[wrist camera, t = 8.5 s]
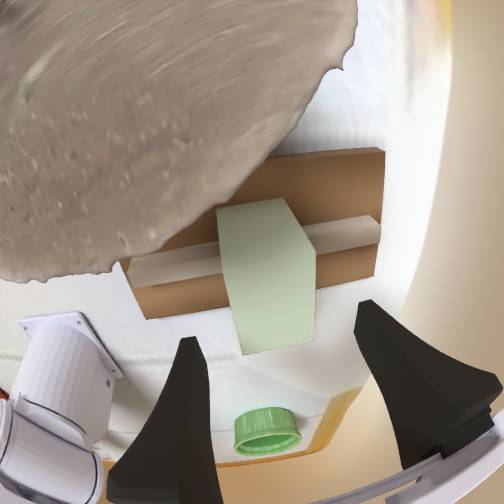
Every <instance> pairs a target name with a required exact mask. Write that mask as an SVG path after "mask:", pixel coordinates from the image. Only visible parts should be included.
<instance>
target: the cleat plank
mask: <svg viewBox="0 0 504 504" xmlns="http://www.w3.org/2000/svg"><path fill="white" fill-rule="evenodd" d="M384 174H385V151H383V150H381V149H379V148H377V147H369V148H354V149H341V150H330V151H319V152H310V153H301V154H293V155H285V156H277V157H270V158H266V159H265V161H264V162H263V163H262V164H261V165H260V166H258V167H257V168H256V169H255V170H254V172H253V173H252V174H251V175H250V176H249V177H248V178H247V179H246V180H245V181H244V183H243V184H242V185H241V186H240V187H239V188H238V190H237V191H236V192H235V193H234V195H233V196H232V197H231V198H230V199H229V200H228V201H227V202H226V203H223V204H221V203H220V204H216V205H214V206H213V207H212V208H210V209H209V210H208V211H207V212H205V213H204V214H203V215H202V216H200V217H199V218H198V219H197V220H196V221H195V222H194V223H193V224H191V225H190V226H188V227H187V228H185V229H183V230H181V231H180V232H179V233H177V234H176V235H174V236H173V237H171V238H170V239H169V240H168V241H167V242H166V243H165V245H164V246H163V247H162V248H161V249H160V250H157V251H154V252H152V253H150V254H147V255H145V256H141V257H128V258H126V259H124V260H119V262H120V265H121V267H122V269H123V272H124V274H125V276H126V279H127V281H128V283H129V285H130V287H131V290H132V292H133V294H134V296H135V298H136V300H137V302H138V304H139V307H140V309H141V311H142V313H143V315H144V317H145V319H146V320H148V319H155V318H162V317H169V316H175V315H181V314H188V313H194V312H200V311H206V310H212V309H218V308H224V307H229V306H230V302H229V298H228V293H227V289H226V285H225V281H224V276H223V272H222V265H221V256H220V246H219V235H218V224H217V213H216V209H218V208H223V207H229V206H234V205H240V204H245V203H251V202H257V201H263V200H269V199H275V198H282V197H283V198H284V200H285V201H286V203H287V205H288V206H289V208H290V210H291V211H292V213H293V214H294V216H295V218H296V219H297V221H298V223H299V224H300V226H301V228H302V229H303V231H304V233H305V234H306V236H307V238H308V239H309V241H310V243H311V245H312V246H313V248H314V250H315V251H316V280H315V289H320V288H325V287H329V286H334V285H338V284H342V283H347V282H351V281H355V280H360V279H364V278H368V277H372V276H374V270H375V263H376V256H377V249H378V243H380V235H381V226H380V224H381V214H382V203H383V190H384Z"/></svg>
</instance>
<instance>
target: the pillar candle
mask: <svg viewBox="0 0 504 504" xmlns="http://www.w3.org/2000/svg"><path fill="white" fill-rule="evenodd" d="M357 13H358V7H357V0H0V278H2V279H4V280H5V281H13V282H17V283H28V282H29V281H30V280H32V279H33V280H37V281H38V282H41V283H46V282H47V281H48V279H50V278H53V277H63V276H67V275H74V274H86V273H90V274H96V275H98V274H101V273H110V272H111V271H112V267H113V265H114V264H115V263H116V262H117V261H119V260H124V259H126V258H128V257H141V256H145V255H147V254H150V253H152V252H154V251H157V250H160V249H161V248H162V247H163V246H164V245H165V243H166V242H167V241H168V240H169V239H170V238H171V237H173V236H174V235H176V234H177V233H179V232H180V231H181V230H183V229H185V228H187V227H188V226H190V225H191V224H193V223H194V222H195V221H196V220H197V219H198V218H199V217H200V216H202V215H203V214H204V213H205V212H207V211H208V210H209V209H210V208H212V207H213V206H214V205H216V204H220V203H221V204H223V203H226V202H227V201H228V200H229V199H230V198H231V197H232V196H233V195H234V193H235V192H236V191H237V190H238V188H239V187H240V186H241V185H242V184H243V183H244V181H245V180H246V179H247V178H248V177H249V176H250V175H251V174H252V173H253V172H254V170H255V169H256V168H257V167H258V166H260V165H261V164H262V163H263V162H264V161H265V159H266V157H267V156H268V155H269V154H270V152H271V151H272V150H273V149H274V148H276V147H277V145H278V144H279V143H280V142H281V141H282V140H284V139H285V138H286V137H287V135H288V134H289V133H290V132H291V131H292V130H293V129H294V128H295V127H296V126H297V123H298V121H299V119H300V118H301V116H302V115H303V113H304V111H305V109H306V107H307V105H308V104H309V103H310V101H311V100H312V98H313V96H314V94H315V93H316V91H317V89H318V87H319V85H320V82H321V80H322V78H323V76H324V75H325V74H326V73H327V72H328V71H329V70H332V69H336V68H338V69H340V70H343V68H342V62H343V57H344V55H345V53H346V52H347V51H348V50H349V49H350V48H351V47H352V46H353V44H354V38H355V29H356V27H357V25H358V19H357ZM343 71H344V70H343Z"/></svg>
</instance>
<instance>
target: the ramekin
mask: <svg viewBox="0 0 504 504" xmlns="http://www.w3.org/2000/svg"><path fill="white" fill-rule="evenodd" d="M301 440H302V436H301V434H300V433H299V431H298V429H297V426H296V423H295V421H294V418H293V415H292V413H291V412H290V411H288V410H286V409H283V408H262V409H257V410H253V411H250V412H247V413H245V414H243V415H241V416H240V417H239V418H238V419H237V420H236V421H235V444H234V450H235V452H236V453H238V454H240V455H245V456H264V455H270V454H275V453H279V452H283V451H286V450H288V449H291V448H293V447H294V446H296V445H298V444H299V443H300V442H301Z"/></svg>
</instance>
